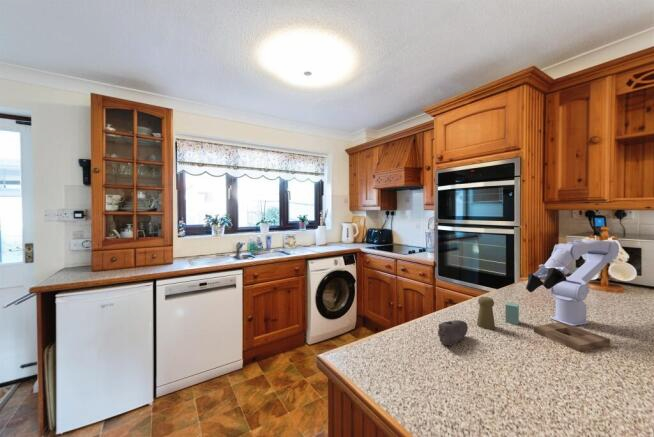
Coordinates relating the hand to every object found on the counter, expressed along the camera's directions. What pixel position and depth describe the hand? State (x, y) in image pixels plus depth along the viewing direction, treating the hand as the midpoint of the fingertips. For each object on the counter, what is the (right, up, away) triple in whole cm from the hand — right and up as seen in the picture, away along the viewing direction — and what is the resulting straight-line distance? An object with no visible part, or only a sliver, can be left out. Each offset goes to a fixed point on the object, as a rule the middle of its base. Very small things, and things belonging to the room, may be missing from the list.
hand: (536, 288), depth 96 cm
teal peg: (-3, -15, +8) cm, 18 cm away
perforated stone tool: (-33, -16, -6) cm, 38 cm away
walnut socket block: (+7, -16, -6) cm, 18 cm away
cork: (-16, -16, +5) cm, 23 cm away
